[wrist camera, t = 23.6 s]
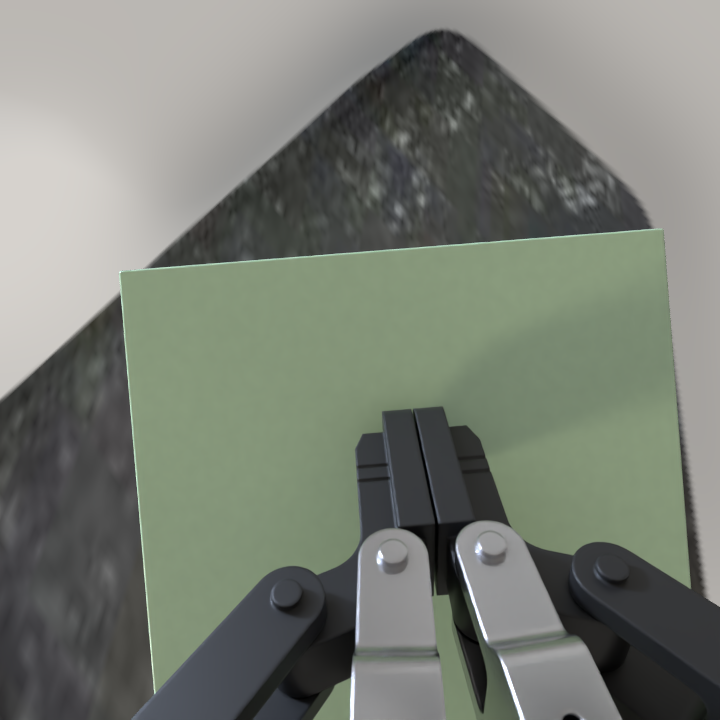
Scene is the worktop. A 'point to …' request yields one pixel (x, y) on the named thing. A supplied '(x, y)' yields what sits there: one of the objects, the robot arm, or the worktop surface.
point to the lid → (394, 392)
